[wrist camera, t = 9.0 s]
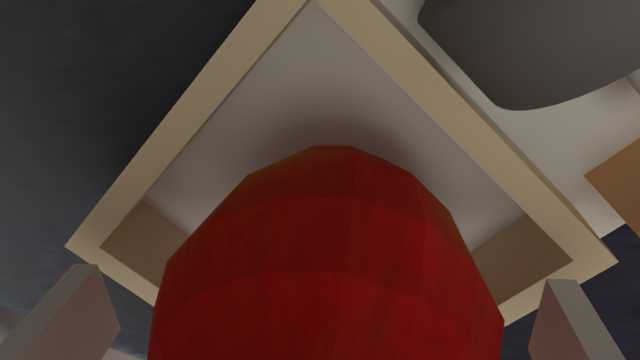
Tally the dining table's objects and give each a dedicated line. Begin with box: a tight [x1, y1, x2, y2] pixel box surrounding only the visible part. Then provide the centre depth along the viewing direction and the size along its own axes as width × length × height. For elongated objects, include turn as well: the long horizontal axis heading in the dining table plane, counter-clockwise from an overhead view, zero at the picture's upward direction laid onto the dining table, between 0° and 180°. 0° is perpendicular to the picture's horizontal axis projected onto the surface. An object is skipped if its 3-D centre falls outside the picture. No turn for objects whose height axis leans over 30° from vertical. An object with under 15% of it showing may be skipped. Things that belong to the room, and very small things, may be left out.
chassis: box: [64, 0, 640, 327], centre depth 15 cm, size 16×22×7 cm
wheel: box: [417, 0, 640, 111], centre depth 11 cm, size 8×7×7 cm
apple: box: [147, 146, 505, 360], centre depth 13 cm, size 9×9×12 cm
